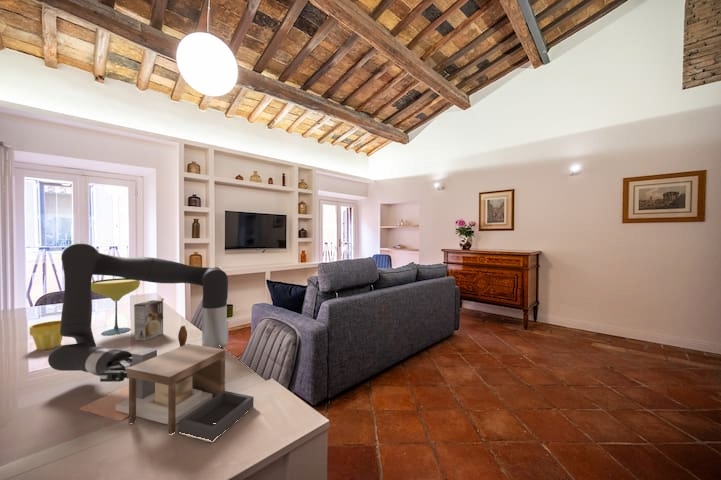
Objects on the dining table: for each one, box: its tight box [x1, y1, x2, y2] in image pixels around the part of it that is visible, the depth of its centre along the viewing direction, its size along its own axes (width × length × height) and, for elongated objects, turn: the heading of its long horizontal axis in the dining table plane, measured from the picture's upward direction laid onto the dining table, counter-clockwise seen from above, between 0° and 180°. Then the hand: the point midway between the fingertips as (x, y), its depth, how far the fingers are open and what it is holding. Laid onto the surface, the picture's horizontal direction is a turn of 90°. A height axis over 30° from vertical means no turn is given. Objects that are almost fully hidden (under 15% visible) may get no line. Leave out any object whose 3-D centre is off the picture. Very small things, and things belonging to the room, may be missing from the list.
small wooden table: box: [127, 343, 226, 434], centre depth 75 cm, size 17×14×14 cm
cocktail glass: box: [91, 277, 141, 336], centre depth 137 cm, size 18×18×25 cm
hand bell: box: [177, 325, 188, 347], centre depth 96 cm, size 8×8×16 cm
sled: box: [116, 347, 213, 425], centre depth 77 cm, size 12×20×14 cm, turn 73°
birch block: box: [155, 375, 192, 407], centre depth 76 cm, size 6×6×6 cm
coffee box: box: [133, 300, 164, 341], centre depth 130 cm, size 9×6×16 cm
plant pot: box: [29, 320, 64, 351], centre depth 117 cm, size 10×10×10 cm
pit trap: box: [178, 390, 255, 441], centre depth 71 cm, size 14×10×3 cm
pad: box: [78, 385, 129, 421], centre depth 81 cm, size 16×16×1 cm
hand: (151, 371), depth 78 cm, fingers closed on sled, 4 cm apart
